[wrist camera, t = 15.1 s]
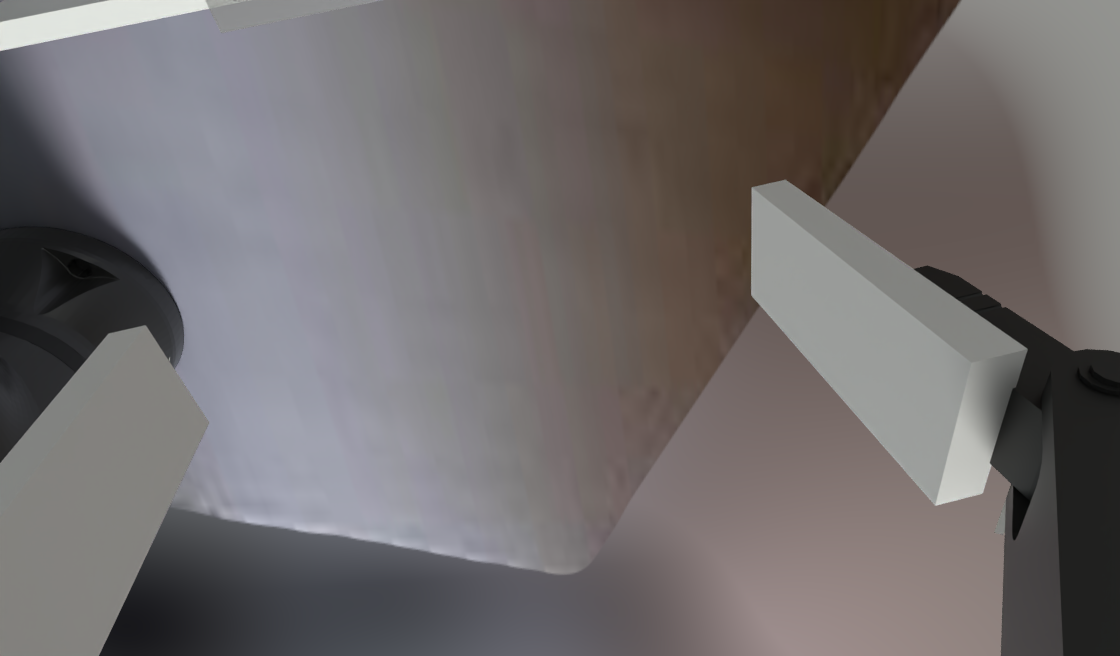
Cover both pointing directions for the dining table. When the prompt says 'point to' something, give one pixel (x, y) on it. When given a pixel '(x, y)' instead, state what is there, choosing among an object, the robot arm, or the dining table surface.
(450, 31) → the dining table surface
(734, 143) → the dining table surface
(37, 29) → the lid
